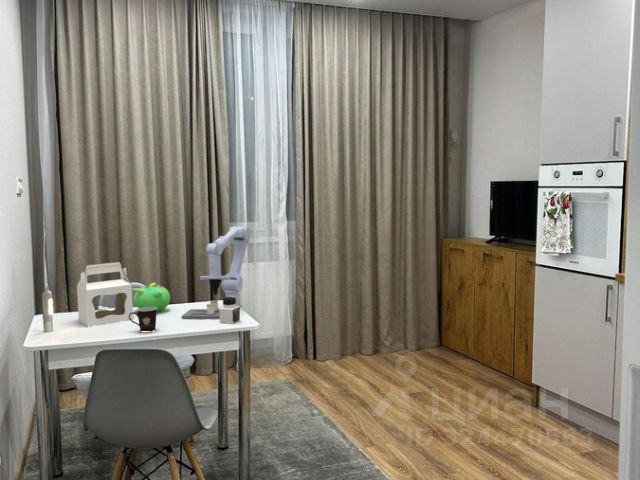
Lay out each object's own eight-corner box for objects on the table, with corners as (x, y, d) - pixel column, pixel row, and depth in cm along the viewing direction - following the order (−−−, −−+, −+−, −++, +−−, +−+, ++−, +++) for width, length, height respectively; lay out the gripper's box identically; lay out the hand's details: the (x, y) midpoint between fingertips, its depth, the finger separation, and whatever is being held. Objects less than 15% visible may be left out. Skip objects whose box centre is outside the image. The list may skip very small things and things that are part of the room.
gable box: (87, 327, 270) (83, 267, 267) (78, 322, 280) (75, 264, 277) (133, 319, 284) (131, 262, 281) (123, 314, 294) (121, 260, 291)
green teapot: (174, 308, 308) (173, 280, 306) (165, 315, 291) (163, 286, 290) (140, 308, 308) (139, 281, 307) (129, 315, 292) (128, 286, 290)
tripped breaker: (208, 312, 288) (208, 303, 287) (214, 312, 288) (214, 303, 287) (207, 314, 285) (206, 304, 284) (213, 314, 285) (213, 304, 284)
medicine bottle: (233, 324, 272) (232, 299, 271) (219, 323, 275) (218, 298, 273) (240, 320, 279) (239, 296, 278) (226, 319, 281) (226, 295, 280)
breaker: (212, 309, 295) (211, 300, 294) (218, 309, 295) (217, 300, 294) (210, 311, 292) (210, 301, 291) (216, 311, 292) (216, 301, 291)
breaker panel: (190, 312, 298) (190, 309, 298) (227, 312, 297) (227, 309, 297) (181, 319, 283) (181, 315, 283) (220, 319, 282) (219, 316, 282)
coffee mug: (161, 329, 265) (160, 307, 264) (151, 333, 257) (150, 311, 256) (139, 327, 268) (138, 306, 267) (128, 332, 260) (127, 310, 259)
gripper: (198, 268, 285) (199, 295, 287) (227, 268, 284) (228, 296, 286) (202, 266, 292) (202, 293, 294) (230, 266, 291) (231, 293, 293)
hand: (215, 294), depth 290 cm, fingers closed
